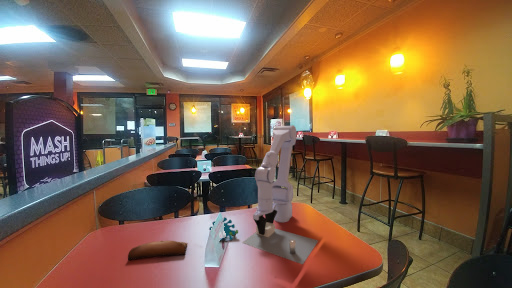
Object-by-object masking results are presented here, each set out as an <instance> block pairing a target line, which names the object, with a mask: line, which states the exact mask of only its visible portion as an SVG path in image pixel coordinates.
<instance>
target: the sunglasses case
mask: <svg viewBox="0 0 512 288" xmlns="http://www.w3.org/2000/svg"><path fill="white" fill-rule="evenodd" d="M188 245H189V242H184V241H176V240H157V241H152V242H146V243H144V244H140V245H137V246H135V247H133V248H131V249H130V250H129V252H128V254H127V260H128V261H131V260H132V261H133V260H140V259H145V258H149V257H150V258H153V257H154V258H155V257H162V256H173V255H175V256H176V255H186V253H187V250H188Z"/></svg>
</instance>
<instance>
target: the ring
mask: <svg viewBox="0 0 512 288" xmlns="http://www.w3.org/2000/svg"><path fill="white" fill-rule="evenodd" d="M255 229H256V230H255V231H256V234H259V231H258V228H257V225H256V226H255ZM275 229H276V224H275V223H273V224H272V223H268V222H266V226H265V234H264V235H262V236H266V237H269V236H270V235H271V234H273V233H274V232H275ZM259 235H261V234H259Z"/></svg>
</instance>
